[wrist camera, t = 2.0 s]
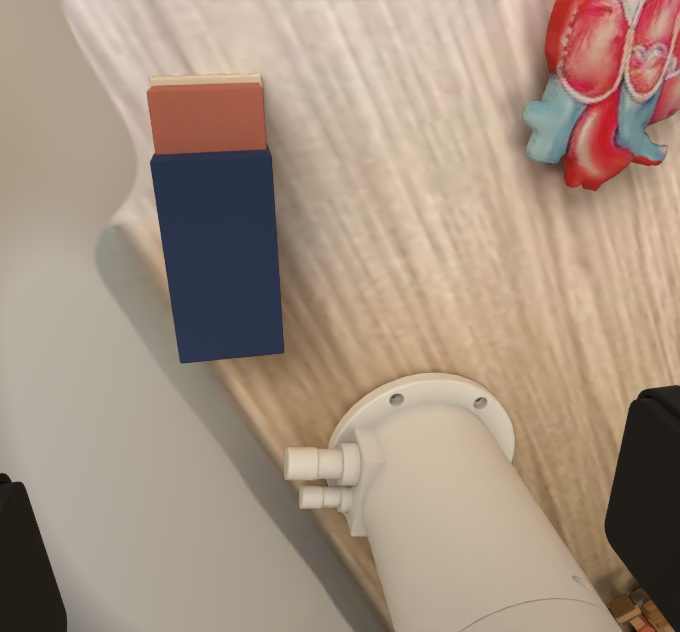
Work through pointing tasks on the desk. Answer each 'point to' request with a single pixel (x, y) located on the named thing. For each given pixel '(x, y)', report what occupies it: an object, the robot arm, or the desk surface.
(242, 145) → the navy and orange box
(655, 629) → the character figurine
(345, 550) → the desk surface
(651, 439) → the robot arm
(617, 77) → the anatomical model
